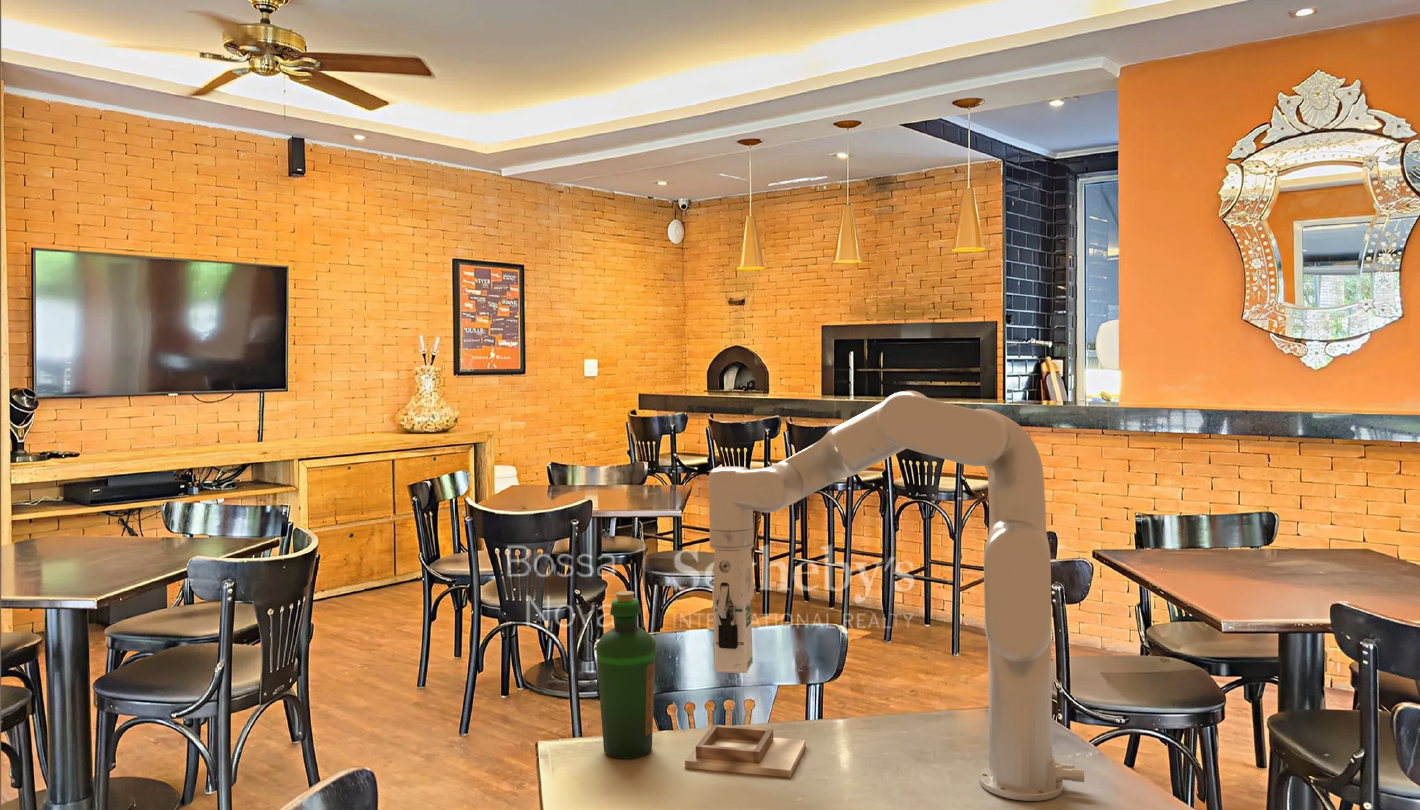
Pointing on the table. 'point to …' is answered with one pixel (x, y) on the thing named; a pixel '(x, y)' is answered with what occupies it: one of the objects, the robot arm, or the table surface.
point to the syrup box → (742, 655)
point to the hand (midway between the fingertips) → (733, 641)
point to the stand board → (746, 751)
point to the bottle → (626, 681)
